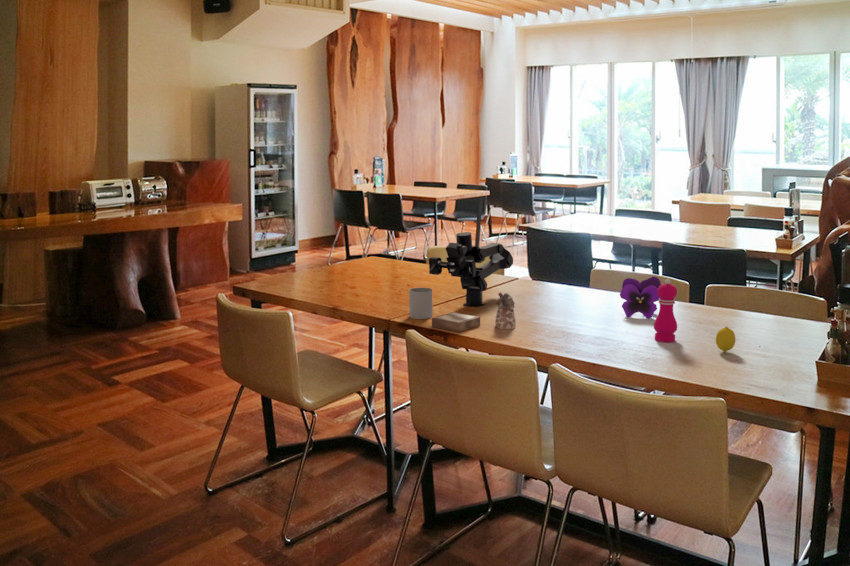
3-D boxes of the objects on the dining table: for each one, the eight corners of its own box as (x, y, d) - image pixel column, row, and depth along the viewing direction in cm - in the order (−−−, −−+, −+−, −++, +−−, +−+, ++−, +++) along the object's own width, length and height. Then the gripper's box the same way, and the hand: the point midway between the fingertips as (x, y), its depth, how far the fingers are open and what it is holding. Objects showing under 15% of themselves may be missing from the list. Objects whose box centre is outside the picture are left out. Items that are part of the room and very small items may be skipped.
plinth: (453, 320, 277) (453, 311, 277) (480, 325, 269) (480, 316, 269) (431, 326, 268) (431, 317, 268) (458, 332, 261) (458, 323, 260)
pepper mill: (649, 337, 251) (652, 277, 247) (671, 336, 252) (674, 276, 248) (658, 343, 244) (661, 281, 240) (680, 342, 245) (683, 280, 241)
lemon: (717, 348, 237) (719, 323, 236) (736, 351, 234) (738, 326, 233) (712, 353, 233) (714, 327, 231) (732, 355, 230) (733, 330, 228)
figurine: (510, 330, 262) (510, 295, 260) (491, 327, 266) (491, 293, 264) (519, 325, 268) (519, 292, 266) (500, 323, 272) (501, 290, 270)
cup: (429, 319, 279) (429, 292, 277) (407, 318, 280) (407, 291, 278) (434, 314, 287) (433, 287, 285) (412, 313, 288) (412, 287, 286)
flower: (621, 323, 290) (616, 314, 278) (625, 285, 294) (621, 274, 282) (661, 326, 284) (658, 317, 272) (664, 288, 288) (662, 277, 276)
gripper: (438, 239, 291) (416, 250, 279) (482, 242, 282) (461, 253, 269) (441, 267, 295) (419, 279, 282) (484, 271, 285) (463, 284, 272)
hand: (440, 273), depth 276 cm, fingers open, 9 cm apart
